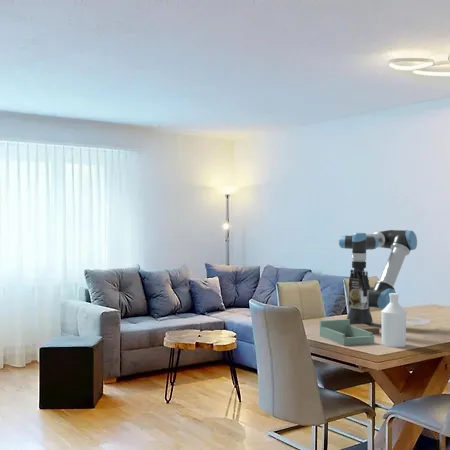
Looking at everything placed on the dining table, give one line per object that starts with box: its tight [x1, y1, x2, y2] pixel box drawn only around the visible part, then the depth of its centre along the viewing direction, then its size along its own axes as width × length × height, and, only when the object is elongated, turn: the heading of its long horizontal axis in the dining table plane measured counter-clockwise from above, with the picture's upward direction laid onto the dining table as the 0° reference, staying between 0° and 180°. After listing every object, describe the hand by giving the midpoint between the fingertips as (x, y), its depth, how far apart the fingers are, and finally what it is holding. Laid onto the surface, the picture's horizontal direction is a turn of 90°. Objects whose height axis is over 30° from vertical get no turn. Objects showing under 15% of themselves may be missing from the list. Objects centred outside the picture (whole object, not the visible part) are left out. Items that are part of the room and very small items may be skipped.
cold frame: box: [319, 318, 375, 346], centre depth 302 cm, size 25×17×8 cm
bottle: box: [381, 293, 407, 348], centre depth 291 cm, size 12×12×25 cm
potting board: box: [350, 324, 380, 334], centre depth 325 cm, size 16×16×2 cm
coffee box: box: [348, 277, 370, 310], centre depth 325 cm, size 9×6×16 cm
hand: (358, 301), depth 325 cm, fingers closed on coffee box, 10 cm apart
